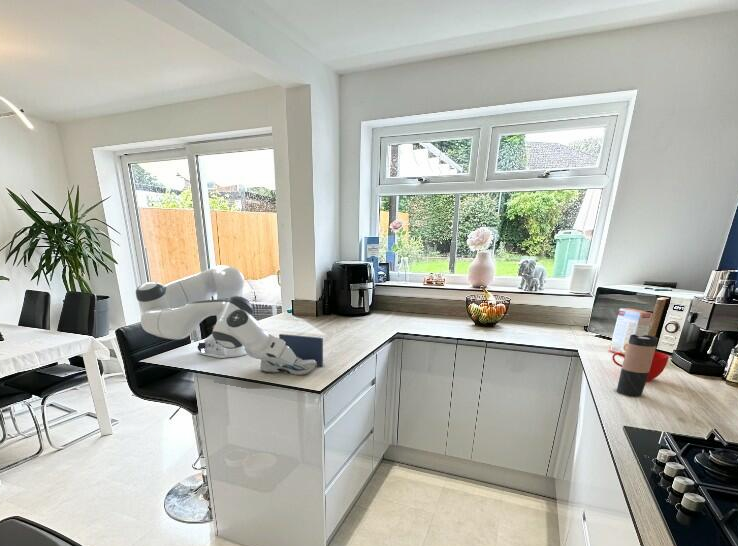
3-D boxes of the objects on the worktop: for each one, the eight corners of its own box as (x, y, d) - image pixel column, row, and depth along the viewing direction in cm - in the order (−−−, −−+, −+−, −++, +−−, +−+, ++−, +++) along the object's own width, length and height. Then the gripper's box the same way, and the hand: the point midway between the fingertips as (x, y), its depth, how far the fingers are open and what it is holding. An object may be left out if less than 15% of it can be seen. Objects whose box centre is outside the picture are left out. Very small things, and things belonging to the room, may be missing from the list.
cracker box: (641, 359, 179) (654, 312, 172) (628, 359, 179) (640, 312, 172) (620, 351, 192) (632, 307, 185) (608, 351, 192) (619, 307, 185)
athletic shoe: (316, 375, 153) (316, 344, 152) (257, 375, 154) (256, 344, 153) (318, 373, 163) (317, 344, 162) (262, 373, 164) (262, 344, 163)
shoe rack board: (280, 361, 172) (279, 334, 168) (281, 360, 173) (280, 333, 169) (321, 366, 165) (321, 338, 161) (323, 365, 167) (323, 337, 163)
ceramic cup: (609, 369, 164) (614, 346, 160) (660, 377, 154) (668, 352, 151) (607, 377, 154) (613, 352, 150) (662, 386, 145) (670, 360, 141)
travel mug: (634, 398, 133) (650, 340, 126) (610, 391, 139) (625, 335, 133) (647, 394, 136) (663, 338, 130) (623, 388, 143) (637, 333, 136)
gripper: (235, 348, 143) (255, 367, 155) (280, 356, 134) (298, 375, 145) (243, 333, 145) (262, 353, 157) (287, 340, 136) (304, 361, 147)
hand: (279, 364), depth 151 cm, fingers closed
